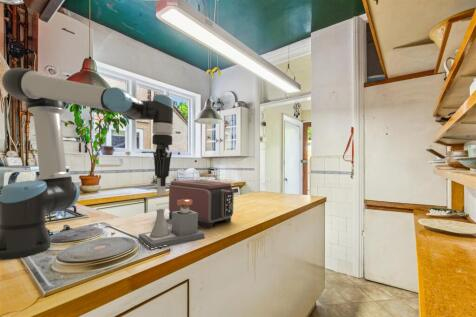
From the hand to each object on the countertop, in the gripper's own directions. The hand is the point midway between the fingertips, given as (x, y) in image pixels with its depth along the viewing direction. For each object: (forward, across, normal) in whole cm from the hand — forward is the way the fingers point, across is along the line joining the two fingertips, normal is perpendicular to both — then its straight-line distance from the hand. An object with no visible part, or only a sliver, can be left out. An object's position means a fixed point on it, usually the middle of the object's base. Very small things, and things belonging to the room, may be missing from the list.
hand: (161, 194), depth 94 cm
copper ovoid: (+12, 0, -11) cm, 16 cm away
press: (+18, 0, -5) cm, 19 cm away
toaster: (+19, +18, -30) cm, 40 cm away
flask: (+16, 0, 0) cm, 16 cm away
